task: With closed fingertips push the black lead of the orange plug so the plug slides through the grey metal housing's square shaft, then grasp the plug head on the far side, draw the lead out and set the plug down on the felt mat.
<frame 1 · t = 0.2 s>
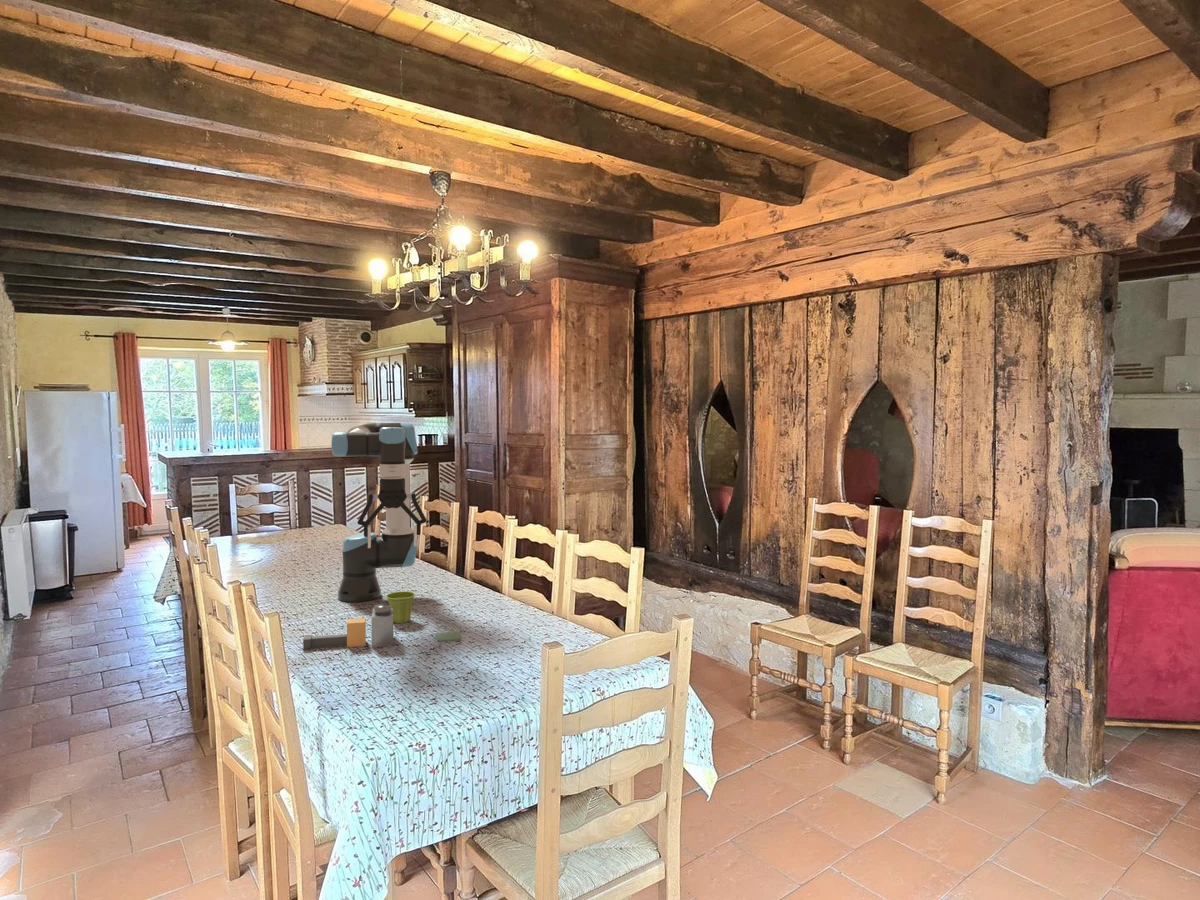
hand: (392, 546, 217), 28 cm above the table, fingers open, 13 cm apart
housing: (382, 641, 213), on the table
plug: (356, 643, 211), on the table
mat: (449, 637, 218), on the table
plant pot: (400, 621, 234), on the table
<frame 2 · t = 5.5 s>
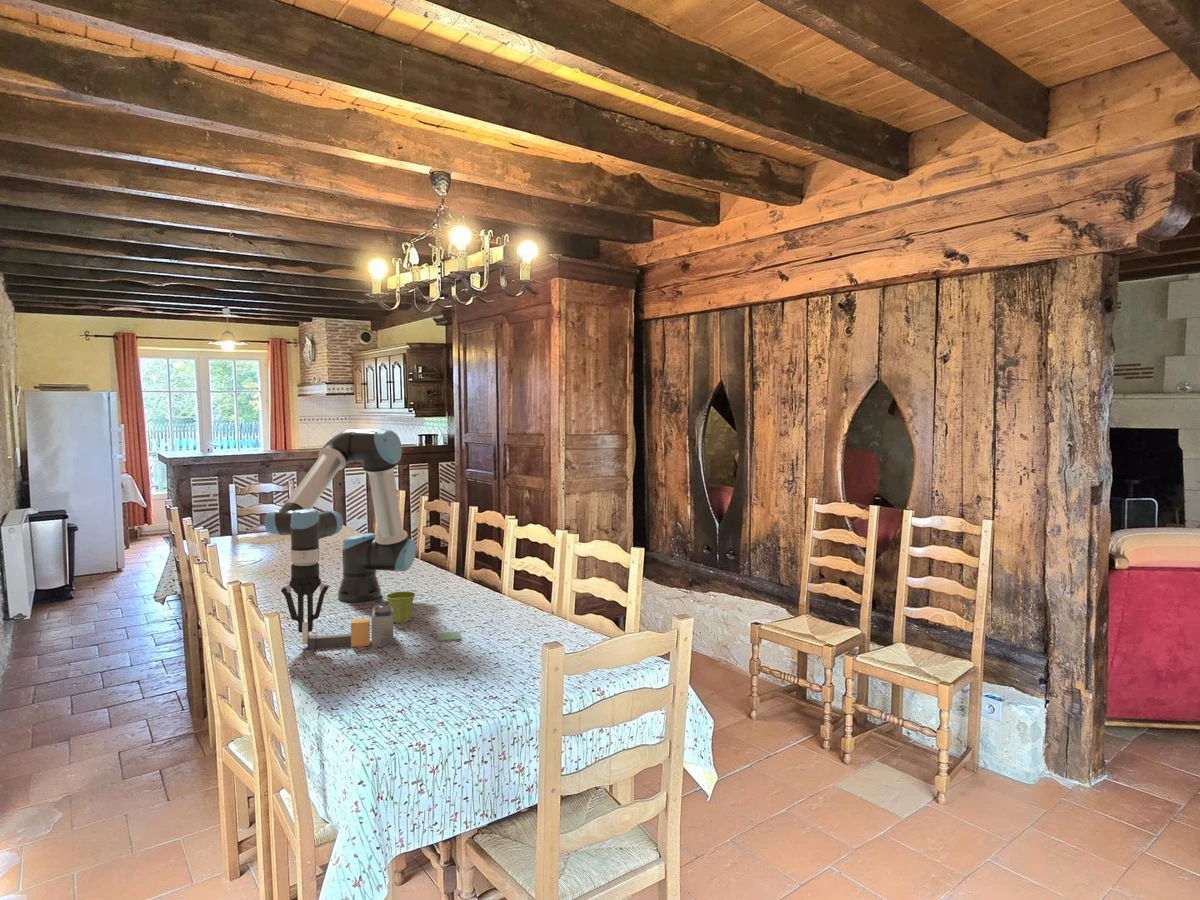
hand: (305, 642, 207), 1 cm above the table, fingers closed
plug: (360, 643, 211), on the table, touching gripper
everything else where it was.
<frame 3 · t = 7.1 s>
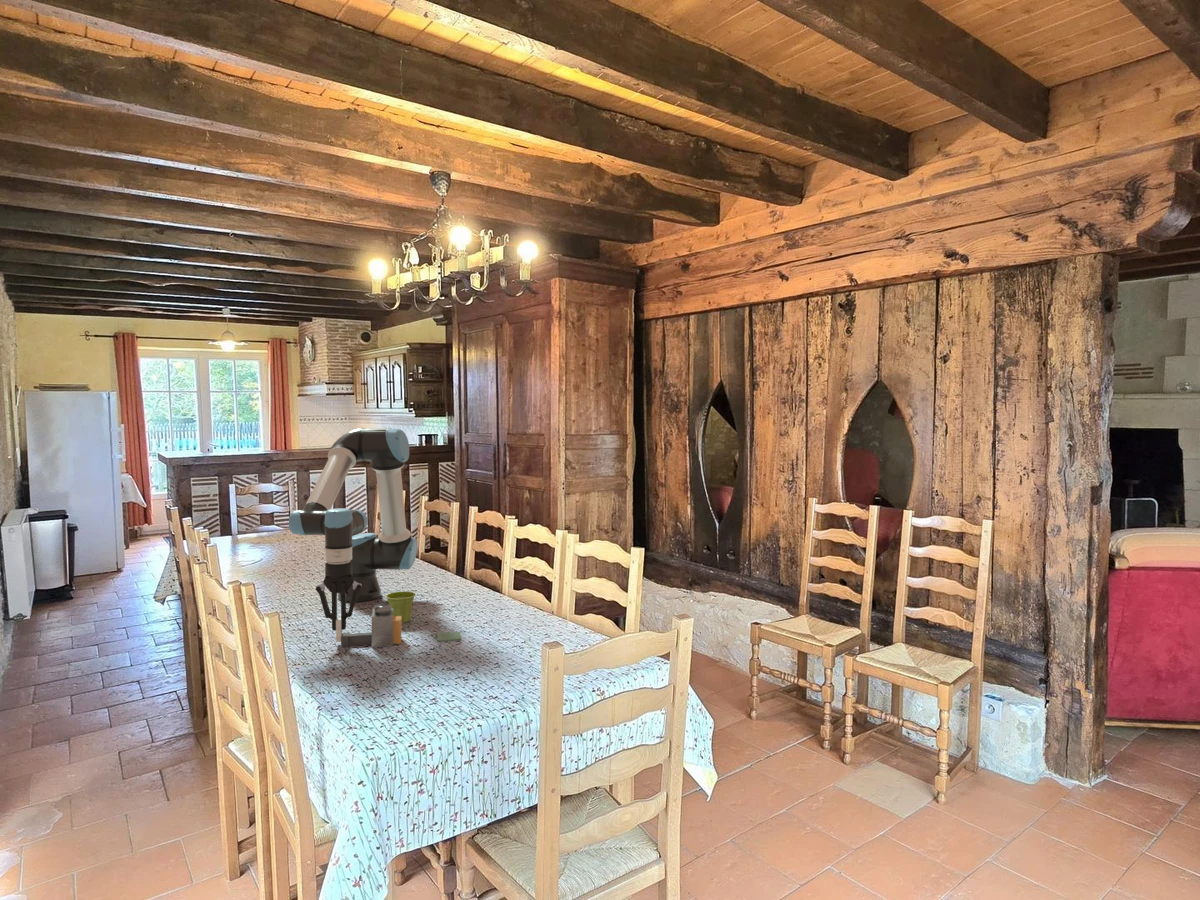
hand: (339, 640, 209), 1 cm above the table, fingers closed
plug: (392, 641, 213), on the table, touching gripper
everything else where it was.
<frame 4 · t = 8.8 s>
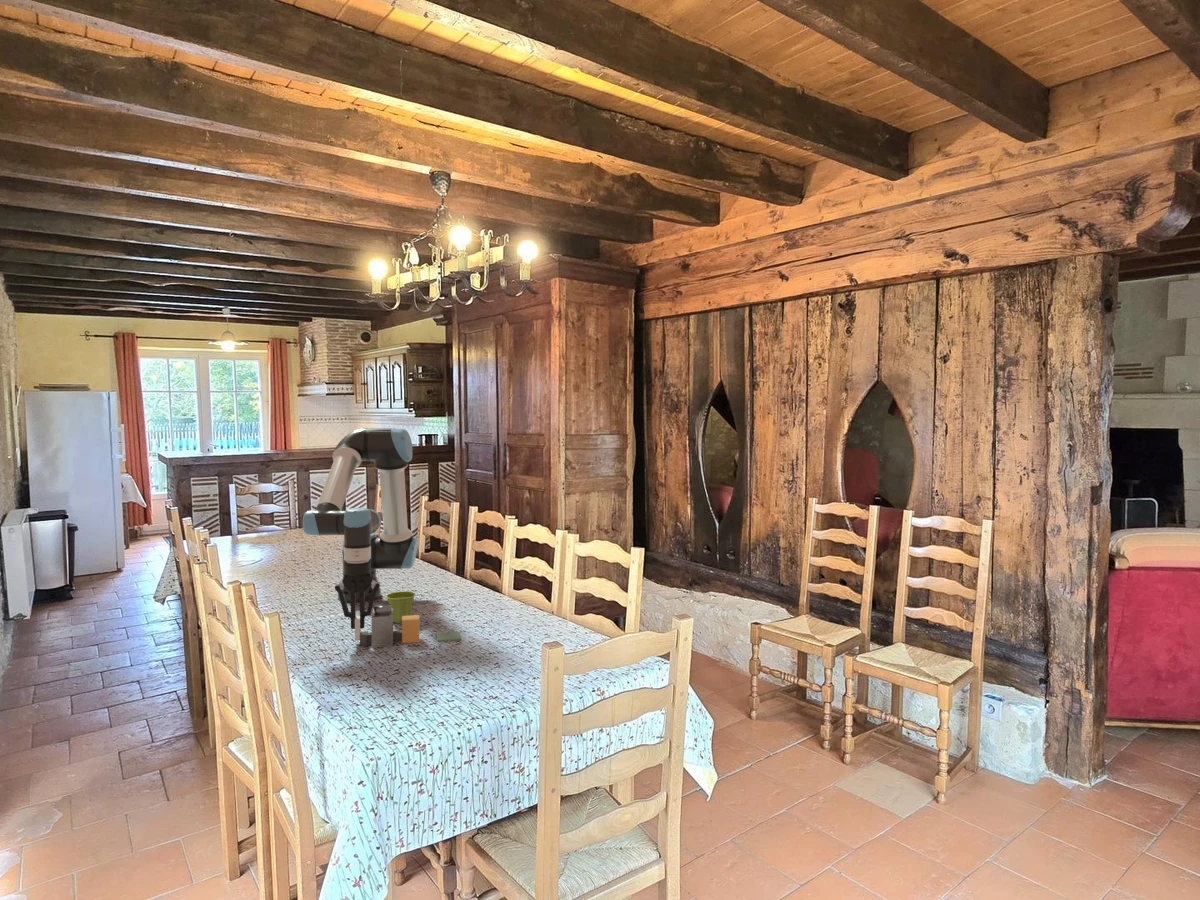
hand: (357, 639, 211), 1 cm above the table, fingers closed
plug: (410, 640, 215), on the table, touching gripper
everything else where it was.
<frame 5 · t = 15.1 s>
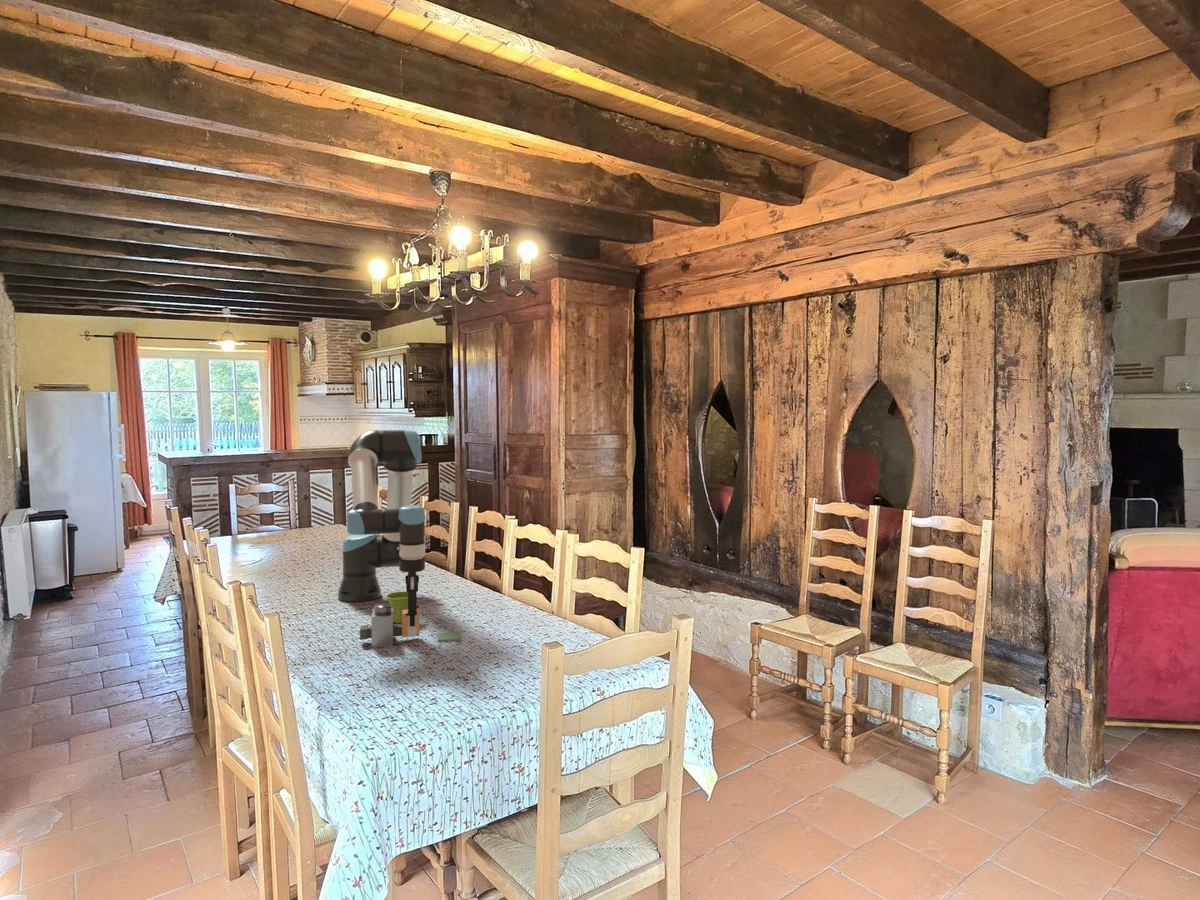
hand: (412, 633, 215), 2 cm above the table, fingers closed on plug, 4 cm apart
plug: (410, 634, 215), point 2 cm above the table, touching gripper
everything else where it was.
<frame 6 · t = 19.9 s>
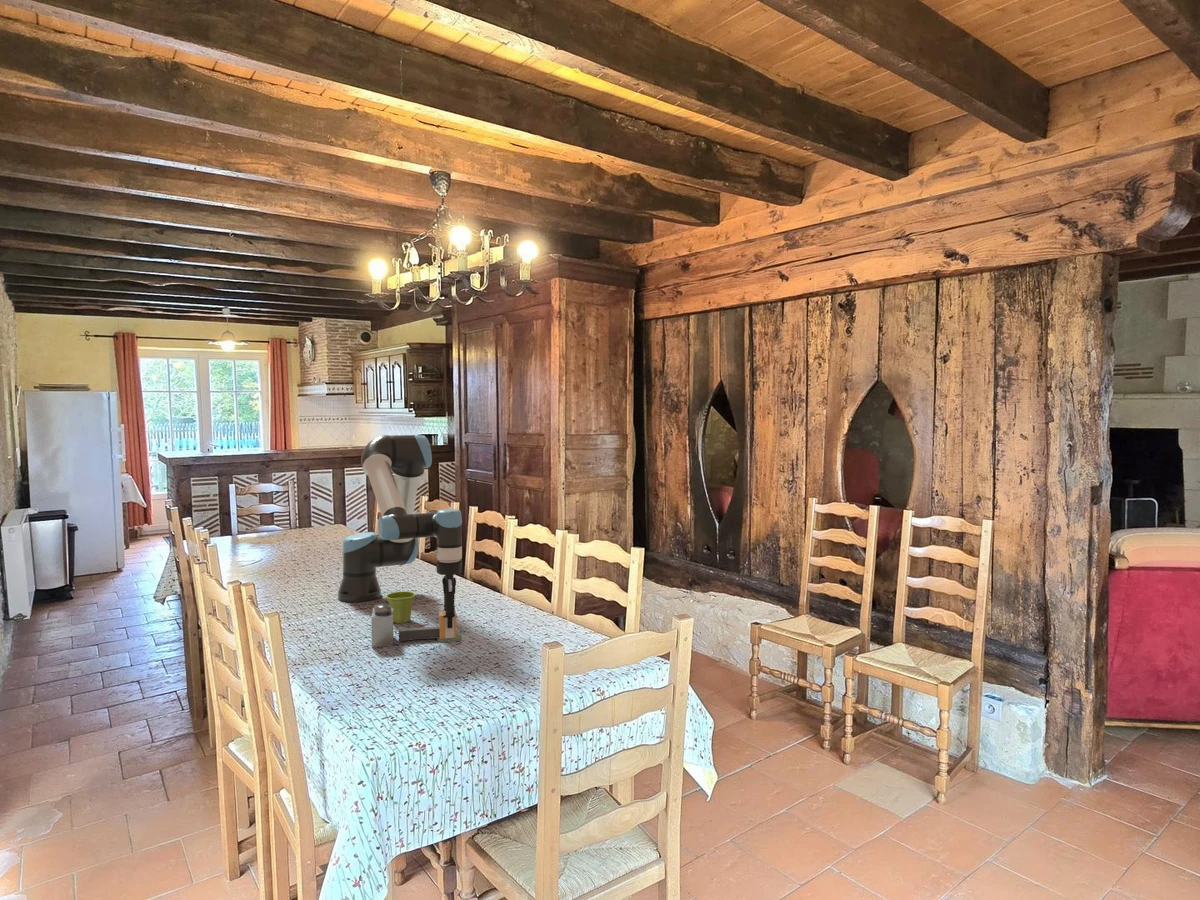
hand: (449, 634, 218), 1 cm above the table, fingers closed on plug, 5 cm apart
plug: (447, 635, 218), on the table, touching gripper, mat
everything else where it was.
when the fingers open (1 cm above the table, at t = 19.9 s): plug stays where it is, resting on mat.
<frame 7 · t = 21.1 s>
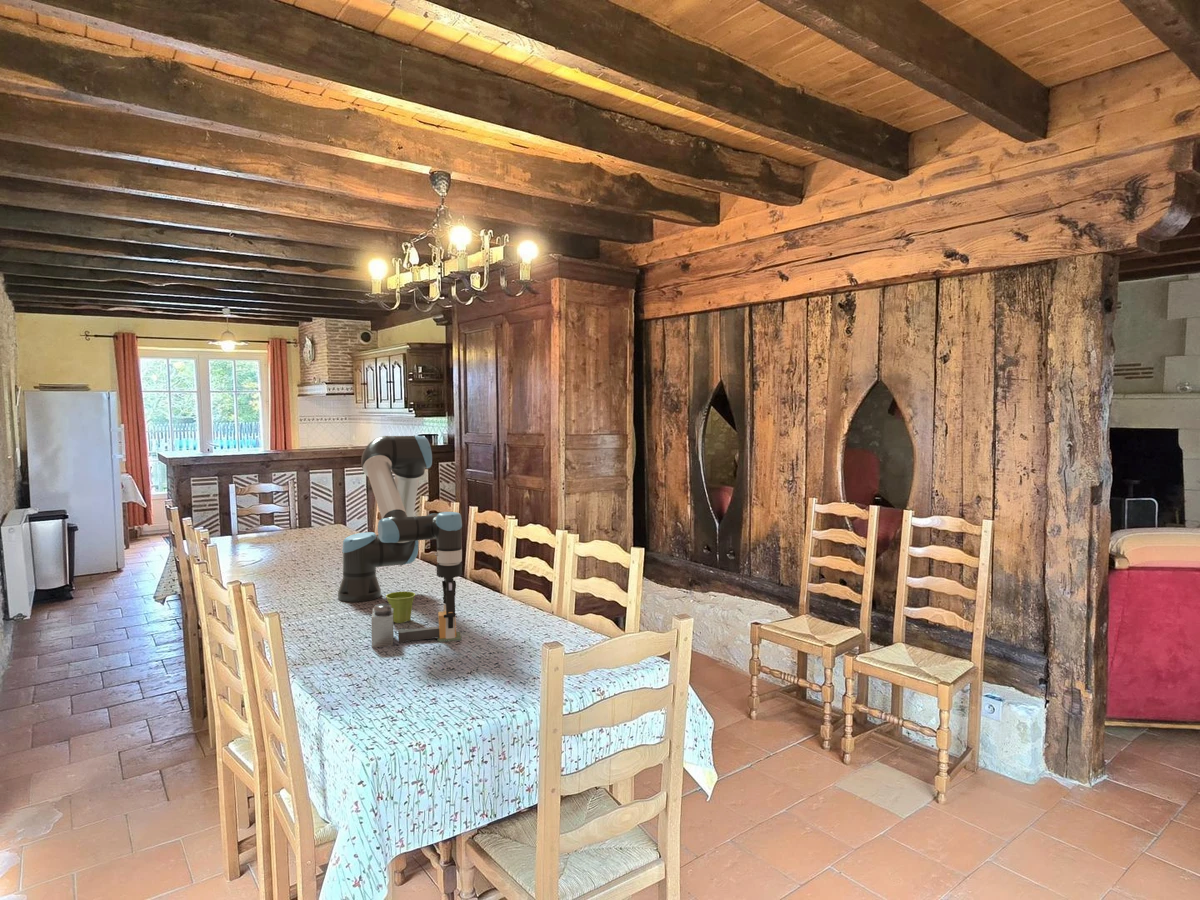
hand: (449, 631, 218), 2 cm above the table, fingers open, 13 cm apart
plug: (447, 635, 218), point 1 cm above the table, touching mat
everything else where it was.
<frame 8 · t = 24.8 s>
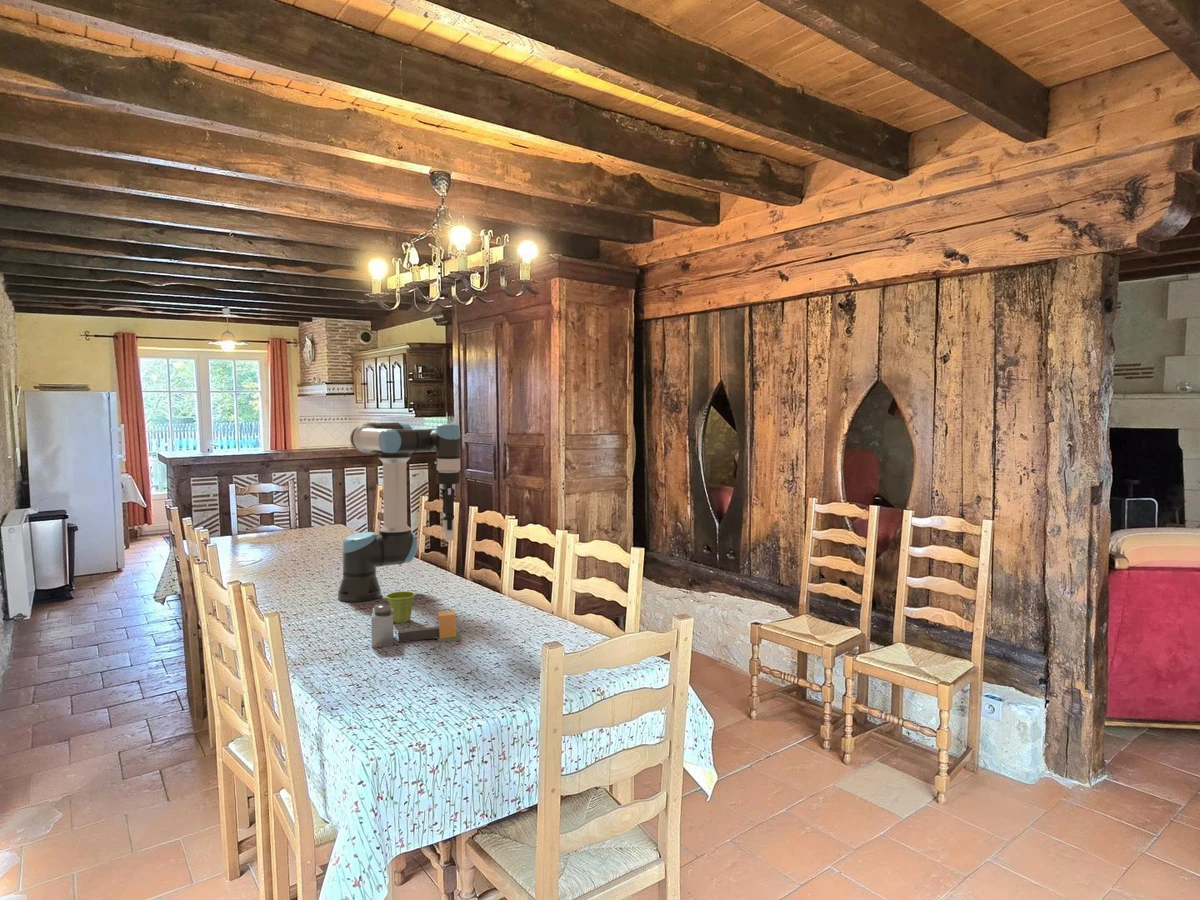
hand: (448, 536, 231), 29 cm above the table, fingers open, 13 cm apart
nothing on the table moved.
at the end: plug inside the target area (0.7 cm from its centre), point 0.6 cm above the table; plug touching mat, table; the gripper is holding nothing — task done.
